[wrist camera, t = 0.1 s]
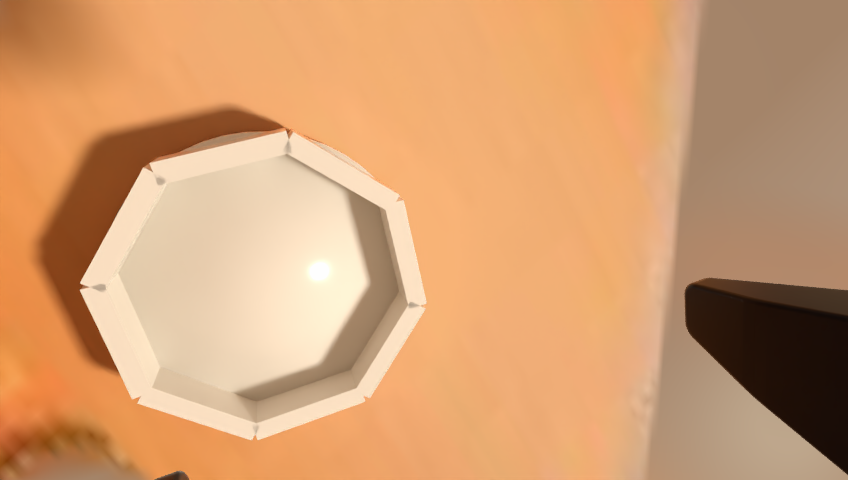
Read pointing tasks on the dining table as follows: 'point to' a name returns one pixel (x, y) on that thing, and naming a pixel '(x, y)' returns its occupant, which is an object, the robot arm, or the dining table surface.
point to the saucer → (255, 283)
